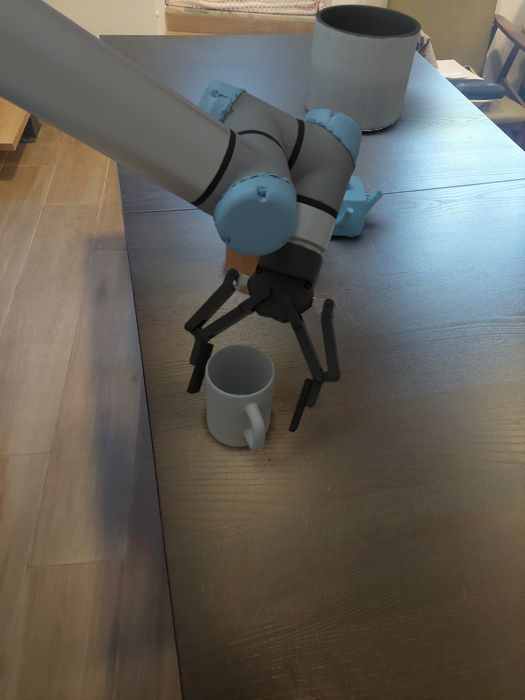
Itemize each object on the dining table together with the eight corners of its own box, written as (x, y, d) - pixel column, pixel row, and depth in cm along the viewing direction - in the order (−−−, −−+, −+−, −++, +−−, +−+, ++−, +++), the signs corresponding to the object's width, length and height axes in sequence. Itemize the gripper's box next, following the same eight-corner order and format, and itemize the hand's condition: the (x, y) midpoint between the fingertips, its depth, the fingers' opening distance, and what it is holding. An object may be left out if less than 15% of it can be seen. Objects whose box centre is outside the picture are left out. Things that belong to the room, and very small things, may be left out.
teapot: (300, 201, 107) (306, 155, 99) (366, 203, 107) (377, 157, 100) (309, 254, 95) (316, 207, 87) (383, 256, 95) (397, 209, 88)
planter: (305, 90, 145) (315, -1, 129) (394, 99, 145) (415, 8, 128) (302, 130, 128) (313, 31, 112) (402, 140, 128) (429, 42, 111)
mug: (199, 404, 71) (196, 351, 62) (256, 389, 73) (261, 336, 65) (226, 479, 63) (226, 430, 55) (289, 459, 66) (298, 410, 57)
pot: (225, 294, 86) (225, 249, 79) (226, 249, 94) (226, 204, 87) (298, 296, 87) (305, 250, 80) (292, 251, 95) (298, 206, 88)
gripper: (395, 280, 63) (340, 441, 64) (212, 226, 68) (165, 375, 70) (397, 271, 55) (334, 453, 57) (192, 211, 61) (140, 379, 62)
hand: (241, 411), depth 63 cm, fingers open, 13 cm apart
